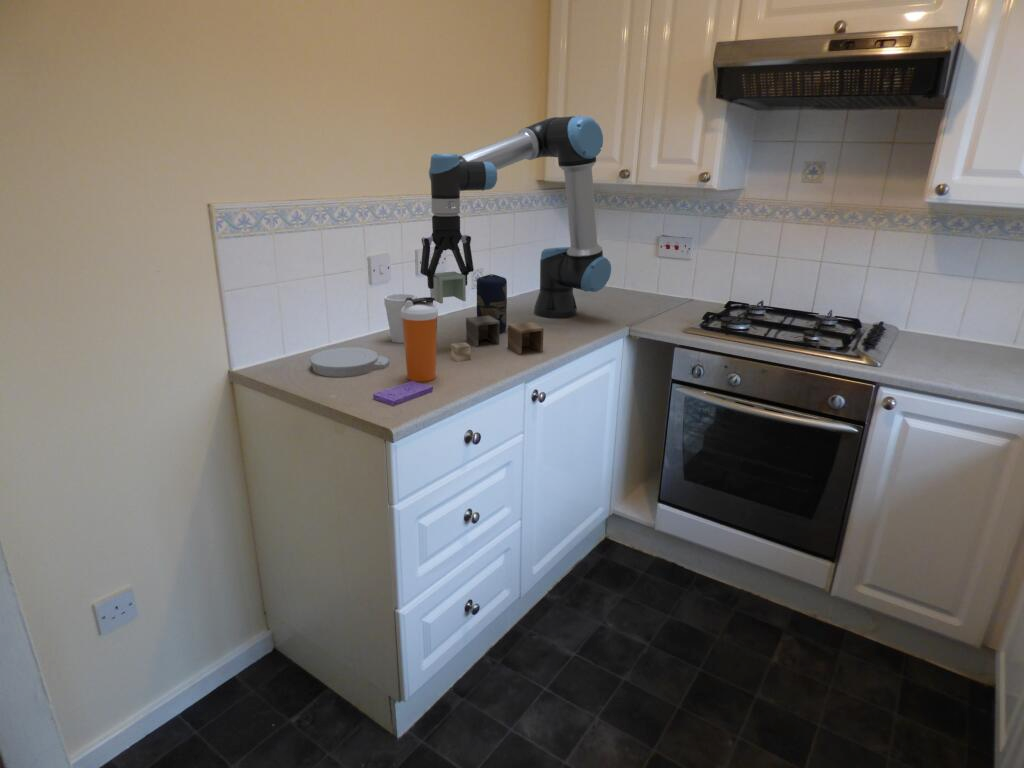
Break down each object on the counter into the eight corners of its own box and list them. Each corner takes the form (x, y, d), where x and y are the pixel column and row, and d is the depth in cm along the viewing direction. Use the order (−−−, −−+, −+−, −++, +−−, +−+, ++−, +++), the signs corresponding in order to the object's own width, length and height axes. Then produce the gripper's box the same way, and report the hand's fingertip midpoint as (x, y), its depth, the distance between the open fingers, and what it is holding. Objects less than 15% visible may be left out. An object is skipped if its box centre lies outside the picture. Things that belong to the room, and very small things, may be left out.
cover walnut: (530, 345, 191) (531, 322, 188) (542, 351, 184) (543, 328, 182) (507, 347, 187) (507, 324, 185) (519, 354, 181) (519, 330, 179)
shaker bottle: (442, 381, 159) (440, 301, 152) (406, 384, 157) (402, 303, 150) (436, 370, 167) (434, 294, 160) (401, 373, 165) (398, 295, 158)
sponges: (372, 401, 147) (372, 393, 147) (412, 386, 157) (412, 379, 156) (394, 408, 143) (393, 400, 143) (433, 393, 153) (433, 385, 152)
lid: (392, 375, 164) (391, 363, 163) (310, 380, 159) (309, 369, 158) (386, 355, 180) (386, 345, 179) (311, 359, 175) (310, 349, 174)
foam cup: (408, 345, 188) (406, 301, 184) (380, 342, 191) (378, 298, 187) (423, 337, 196) (422, 295, 192) (396, 334, 199) (394, 292, 195)
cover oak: (488, 337, 197) (488, 315, 195) (499, 344, 191) (499, 321, 189) (466, 340, 194) (466, 317, 192) (476, 347, 188) (476, 323, 185)
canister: (502, 335, 200) (503, 277, 194) (473, 333, 202) (473, 276, 196) (509, 328, 209) (510, 272, 203) (480, 326, 211) (480, 271, 204)
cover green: (455, 295, 186) (454, 271, 183) (465, 300, 179) (465, 275, 177) (430, 298, 182) (429, 273, 180) (440, 303, 176) (439, 278, 174)
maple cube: (465, 356, 180) (464, 342, 178) (470, 360, 176) (470, 345, 175) (451, 357, 178) (451, 343, 177) (456, 361, 175) (456, 347, 173)
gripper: (414, 217, 165) (418, 304, 173) (486, 214, 174) (486, 297, 182) (404, 214, 172) (408, 299, 179) (474, 212, 181) (475, 292, 188)
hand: (448, 298), depth 181 cm, fingers closed on cover green, 7 cm apart
